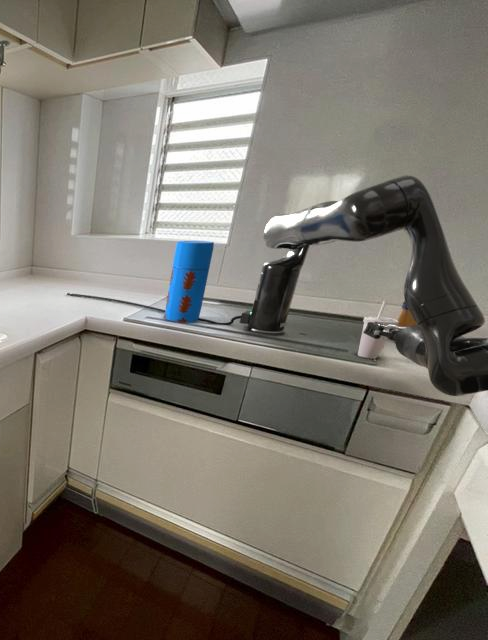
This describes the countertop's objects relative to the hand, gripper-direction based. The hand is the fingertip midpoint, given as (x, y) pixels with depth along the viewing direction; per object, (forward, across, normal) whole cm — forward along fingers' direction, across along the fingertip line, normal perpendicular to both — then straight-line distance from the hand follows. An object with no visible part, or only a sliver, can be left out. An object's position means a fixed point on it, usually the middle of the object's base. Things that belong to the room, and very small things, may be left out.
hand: (398, 330), depth 91 cm
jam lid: (+30, -11, -4) cm, 32 cm away
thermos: (+29, +45, +12) cm, 55 cm away
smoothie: (+10, 0, +9) cm, 14 cm away
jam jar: (+30, -12, +6) cm, 33 cm away
